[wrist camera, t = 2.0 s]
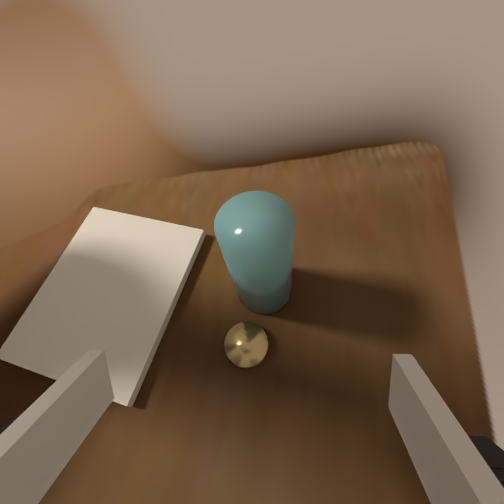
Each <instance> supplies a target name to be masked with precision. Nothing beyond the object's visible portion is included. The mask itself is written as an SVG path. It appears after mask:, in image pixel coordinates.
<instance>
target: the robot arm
mask: <svg viewBox="0 0 504 504" xmlns="http://www.w3.org/2000/svg"><path fill="white" fill-rule="evenodd" d="M113 399H114V394H113V389H112V385H111V380H110V375H109V370H108V365H107V360H106V356H105V351H104V350H88V351H87V352H86V353H85V354H84V355H83V356H82V357H81V358H80V359H79V360H78V361H77V362H76V363H75V364H74V365H73V366H71V367H70V368H69V369H68V370H67V371H66V372H65V373H64V374H63V375H62V376H61V377H60V378H59V379H58V380H57V381H56V382H55V383H54V384H53V385H52V386H51V387H50V388H48V389H47V390H46V391H45V392H44V393H43V394H42V395H41V396H40V397H39V398H38V399H37V400H36V401H35V402H34V403H33V404H32V405H31V406H30V407H29V408H28V409H26V410H25V411H24V412H23V413H22V414H21V415H20V416H19V417H18V418H17V419H16V418H12V419H11V420H9V421H8V422H6V423H5V424H3V425H2V426H0V504H38V503H39V502H40V501H41V499H42V498H43V496H44V495H45V494H46V492H47V491H48V489H49V488H50V487H51V485H52V484H53V482H54V481H55V480H56V478H57V477H58V476H59V474H60V473H61V471H62V470H63V469H64V467H65V466H66V464H67V463H68V462H69V460H70V459H71V457H72V456H73V455H74V453H75V452H76V451H77V449H78V448H79V446H80V445H81V444H82V442H83V441H84V439H85V438H86V437H87V435H88V434H89V433H90V431H91V430H92V428H93V427H94V426H95V424H96V423H97V421H98V420H99V419H100V417H101V416H102V414H103V413H104V412H105V410H106V409H107V408H108V406H109V405H110V403H111V402H112V401H113ZM388 407H389V410H390V412H391V414H392V417H393V419H394V421H395V423H396V426H397V428H398V430H399V432H400V435H401V437H402V439H403V442H404V444H405V446H406V448H407V451H408V453H409V455H410V457H411V460H412V462H413V464H414V467H415V469H416V471H417V473H418V476H419V478H420V480H421V482H422V485H423V487H424V489H425V492H426V494H427V496H428V498H429V501H430V503H431V504H504V451H503V450H502V449H501V448H500V447H498V446H497V445H496V444H495V443H493V442H492V441H491V440H490V439H488V438H487V437H483V436H468V435H467V434H466V433H465V431H464V430H463V428H462V427H461V425H460V424H459V422H458V421H457V419H456V418H455V416H454V415H453V414H452V412H451V411H450V409H449V408H448V406H447V405H446V403H445V402H444V400H443V399H442V398H441V396H440V395H439V393H438V392H437V390H436V389H435V387H434V386H433V384H432V383H431V382H430V380H429V379H428V377H427V376H426V374H425V373H424V371H423V370H422V368H421V367H420V366H419V364H418V363H417V361H416V360H415V358H414V357H413V355H412V354H393V359H392V370H391V381H390V392H389V404H388Z"/></svg>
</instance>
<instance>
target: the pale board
mask: <svg viewBox="0 0 504 504" xmlns="http://www.w3.org/2000/svg"><path fill="white" fill-rule="evenodd" d="M205 236H206V235H205V232H204V230H201V229H196V228H191V227H187V226H182V225H177V224H172V223H168V222H163V221H158V220H153V219H149V218H144V217H139V216H134V215H129V214H125V213H120V212H115V211H110V210H106V209H101V208H96V207H93V209H92V210H91V212H90V213H89V215H88V216H87V218H86V219H85V221H84V222H83V224H82V225H81V227H80V228H79V230H78V231H77V233H76V234H75V236H74V238H73V239H72V241H71V242H70V244H69V245H68V247H67V248H66V250H65V251H64V253H63V254H62V256H61V257H60V259H59V260H58V262H57V263H56V265H55V266H54V268H53V269H52V271H51V273H50V274H49V276H48V277H47V279H46V280H45V282H44V283H43V285H42V286H41V288H40V289H39V291H38V292H37V294H36V295H35V297H34V298H33V300H32V301H31V303H30V304H29V306H28V308H27V309H26V311H25V312H24V314H23V315H22V317H21V318H20V320H19V321H18V323H17V324H16V326H15V327H14V329H13V330H12V332H11V333H10V335H9V336H8V338H7V339H6V341H5V343H4V344H3V346H2V347H1V349H0V359H1V360H3V361H6V362H9V363H11V364H14V365H17V366H19V367H22V368H25V369H28V370H30V371H33V372H36V373H38V374H41V375H44V376H46V377H49V378H52V379H55V380H58V379H59V378H60V377H61V376H62V375H63V374H64V373H65V372H66V371H67V370H68V369H69V368H70V367H71V366H73V365H74V364H75V363H76V362H77V361H78V360H79V359H80V358H81V357H82V356H83V355H84V354H85V353H86V352H87V351H88V350H104V351H105V356H106V360H107V365H108V370H109V375H110V380H111V385H112V389H113V394H114V399H113V401H114V402H117V403H119V404H122V405H125V406H129V407H133V404H134V402H135V400H136V397H137V395H138V393H139V390H140V388H141V386H142V383H143V381H144V379H145V376H146V374H147V372H148V369H149V367H150V365H151V362H152V360H153V358H154V355H155V353H156V351H157V348H158V346H159V344H160V341H161V339H162V336H163V334H164V332H165V329H166V327H167V325H168V322H169V320H170V318H171V315H172V313H173V311H174V308H175V306H176V304H177V301H178V299H179V297H180V294H181V292H182V290H183V287H184V285H185V283H186V280H187V278H188V276H189V273H190V271H191V269H192V266H193V264H194V262H195V259H196V257H197V255H198V252H199V250H200V248H201V245H202V243H203V241H204V238H205Z"/></svg>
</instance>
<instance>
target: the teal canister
mask: <svg viewBox="0 0 504 504" xmlns="http://www.w3.org/2000/svg"><path fill="white" fill-rule="evenodd" d="M294 227H295V219H294V214H293V212H292V210H291V208H290V206H289V205H288V204H287V203H286V202H285V201H284V200H283V199H282V198H280V197H279V196H277V195H275V194H272V193H269V192H265V191H249V192H244V193H241V194H238V195H236V196H234V197H232V198H231V199H229V200H228V201H227V202H226V203H225V204H224V205H223V206H222V207H221V208H220V210H219V211H218V213H217V215H216V218H215V222H214V230H215V235H216V238H217V240H218V243H219V246H220V248H221V251H222V254H223V257H224V259H225V262H226V265H227V267H228V270H229V273H230V275H231V278H232V281H233V283H234V286H235V289H236V291H237V294H238V297H239V299H240V301H241V303H242V304H243V305H244V307H246V308H247V309H248V310H250V311H252V312H254V313H257V314H271V313H274V312H276V311H278V310H280V309H281V308H282V307H283V306H284V305H285V304H286V303H287V301H288V299H289V297H290V294H291V282H292V264H293V245H294Z"/></svg>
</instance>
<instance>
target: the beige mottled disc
mask: <svg viewBox="0 0 504 504" xmlns="http://www.w3.org/2000/svg"><path fill="white" fill-rule="evenodd" d="M224 349H225V353H226V355H227V357H228V358H229V360H230V361H231V362H232V363H233V364H235V365H236V366H238V367H241V368H253V367H255V366H257V365H259V364H260V363H261V362H262V361H263V360H264V359H265V357H266V355H267V352H268V339H267V336H266V334H265V332H264V330H263V329H262V328H261V327H260V326H258V325H257V324H255V323H252V322H242V323H239V324H236V325H235V326H233V327H232V328H231V329H230V330H229V332H228V333H227V335H226V337H225V341H224Z"/></svg>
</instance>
